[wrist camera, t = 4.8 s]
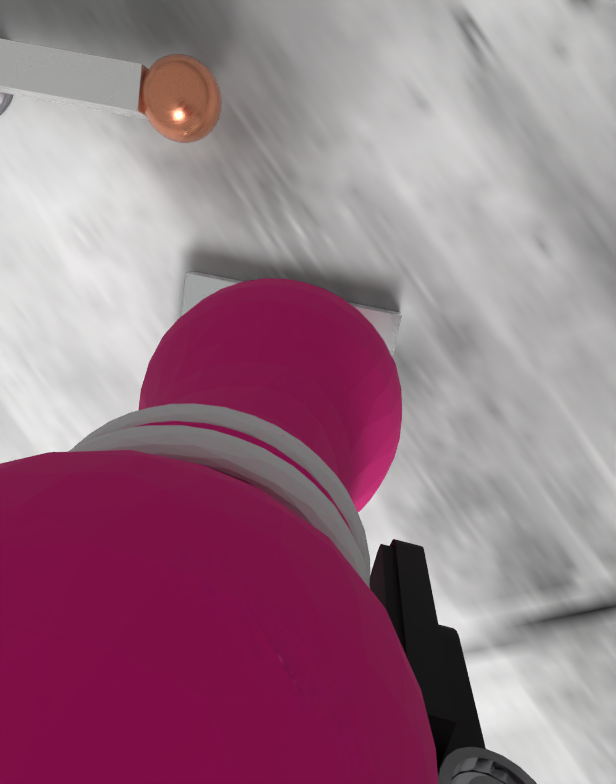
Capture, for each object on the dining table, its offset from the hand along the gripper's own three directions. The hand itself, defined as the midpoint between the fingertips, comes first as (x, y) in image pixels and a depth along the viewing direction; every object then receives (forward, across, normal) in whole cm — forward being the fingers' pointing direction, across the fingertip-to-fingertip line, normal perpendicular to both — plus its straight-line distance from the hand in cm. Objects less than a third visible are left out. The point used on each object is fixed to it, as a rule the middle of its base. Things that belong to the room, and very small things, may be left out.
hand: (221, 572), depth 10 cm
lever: (+20, +14, -10) cm, 26 cm away
